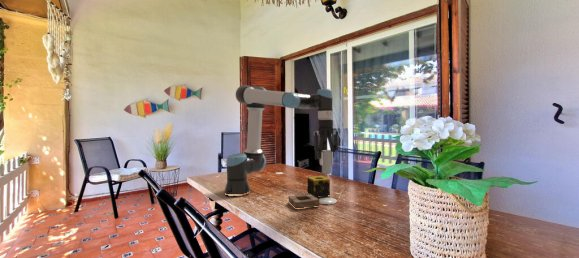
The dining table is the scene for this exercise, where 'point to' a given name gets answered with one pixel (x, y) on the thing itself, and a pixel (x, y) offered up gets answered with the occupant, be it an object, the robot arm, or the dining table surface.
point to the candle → (318, 186)
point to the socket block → (303, 201)
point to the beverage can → (326, 162)
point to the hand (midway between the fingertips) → (326, 164)
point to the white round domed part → (327, 200)
